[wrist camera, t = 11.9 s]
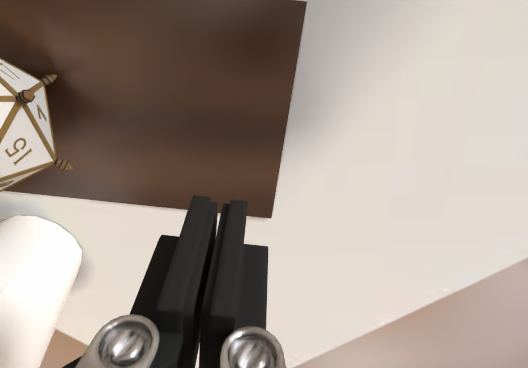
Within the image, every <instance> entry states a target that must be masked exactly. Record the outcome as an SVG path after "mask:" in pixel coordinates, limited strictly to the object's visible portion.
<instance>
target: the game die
mask: <svg viewBox="0 0 528 368" xmlns="http://www.w3.org/2000/svg"><path fill="white" fill-rule="evenodd" d="M56 77H57V75H51V74H47V75H46V76H43V78H42V79H41V80H39V79H37V78H36V77H34V76H32V75H30V74H28V73H26V72H25V71H23V70H21V69H19V68H17V67H16V66H14V65H12V64H10V63H8V62H7V61H5V60H3V59H1V58H0V192H1V191H3V190H5V189H7V188H9V187H11V186H13V185H14V184H16V183H18V182H20V181H22V180H24V179H26V178H28V177H30V176H32V175H34V174H36V173H38V172H40V171H42V170H44V169H46V168H48V167H50V166H51V165H56V166H58V168H61V169H63V171H64V170H67V169H73V167H72V166H71V165H70V164H69V161H64V159H63V160H61V159H57V157H56V151H55V145H54V139H53V132H52V126H51V120H50V114H49V108H48V102H47V96H46V90H45V85H51V84H52V83H55V79H56Z"/></svg>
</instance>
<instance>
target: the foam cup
mask: <svg viewBox="0 0 528 368" xmlns="http://www.w3.org/2000/svg"><path fill="white" fill-rule="evenodd" d="M81 263H82V250H81V248H80V246H79V245H78V243H77V242H76V240H75V238H74V237H73V236H72V235H71V234H70V233H68V232H67V231H66V230H64V229H63V228H62V227H60V226H59V225H58V224H56V223H53V222H51V221H48V220H45V219H42V218H40V217H37V216H20V215H16V216H13V217H11V218H8V219H6V220H3V221H1V222H0V368H39V367H40V364H41V362H42V359H43V357H44V354H45V352H46V350H47V347H48V345H49V342H50V340H51V337H52V335H53V332H54V330H55V328H56V325H57V323H58V320H59V318H60V315H61V313H62V310H63V308H64V306H65V303H66V301H67V298H68V296H69V293H70V291H71V288H72V286H73V284H74V281H75V279H76V276H77V274H78V271H79V266H80V265H81Z"/></svg>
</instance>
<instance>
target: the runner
mask: <svg viewBox="0 0 528 368" xmlns="http://www.w3.org/2000/svg"><path fill="white" fill-rule="evenodd" d="M306 3H307V2H303V1H296V0H0V58H1V59H3V60H5V61H7V62H8V63H10V64H12V65H14V66H16V67H17V68H19V69H21V70H23V71H25V72H26V73H28V74H30V75H32V76H34V77H36V78H37V79H39V80H41V79H42V78H43V76H46V75H47V74H51V75H57V77H56V79H55V83H52V84H51V85H45V90H46V96H47V102H48V108H49V114H50V120H51V126H52V132H53V139H54V145H55V151H56V157H57V159H61V160H63V159H64V161H69V164H70V165H71V166H72V167H73V169H67V170H64V171H63V169H61V168H58V166H56V165H51V166H50V167H48V168H46V169H44V170H42V171H40V172H38V173H36V174H34V175H32V176H30V177H28V178H26V179H24V180H22V181H20V182H18V183H16V184H14V185H13V186H11V187H9V188H7V189H5V190H3V191H12V192H21V193H31V194H41V195H50V196H60V197H70V198H79V199H89V200H99V201H108V202H118V203H127V204H137V205H147V206H156V207H166V208H176V209H185V210H188V209H189V206H190V203H191V199H192V197H193V195H199V196H208V197H212V202H218V211H217V213H221V211H222V206H223V203H227V204H230V200H231V199H234V200H242V201H248V207H247V216H253V217H263V218H271V217H272V211H273V205H274V198H275V192H276V186H277V180H278V174H279V168H280V162H281V156H282V150H283V144H284V137H285V131H286V125H287V119H288V113H289V107H290V101H291V95H292V89H293V83H294V76H295V70H296V64H297V58H298V52H299V46H300V40H301V34H302V28H303V22H304V15H305V9H306Z"/></svg>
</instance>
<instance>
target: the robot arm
mask: <svg viewBox="0 0 528 368" xmlns="http://www.w3.org/2000/svg"><path fill="white" fill-rule="evenodd" d="M247 207H248V201H242V200H234V199H231V200H230V204H227V203H223V206H222V211H221V216H220V221H219V226H218V231H217V235H216V227H217V211H218V202H212V197H208V196H199V195H193V197H192V199H191V203H190V206H189V209H188V212H187V215H186V218H185V221H184V224H183V227H182V230H181V233H180V236H179V237H177V236H168V235H161V237H160V238H159V241H158V243H157V246H156V248H155V251H154V253H153V256H152V258H151V261H150V264H149V266H148V269H147V271H146V274H145V276H144V279H143V282H142V284H141V287H140V289H139V292H138V294H137V297H136V300H135V302H134V305H133V307H132V310H131V312H130V315H125V316H120V317H118V318H116V319H113V320H111V321H110V322H108V323H107V324H106V325H104V326H103V327H102V328H101V329H100V330H99V332H98V333H97V334H96V335H95V337H94V338H93V340H92V342H91V343H90V345H89V346H88V348H87V349H86V351H85V353H84V354H83V356H81V357H79V358H77V359H76V360H74V361H73V362H71V363H69V364H67V365H66V366H64V367H63V368H195V364H196V359H197V354H198V349H199V343H200V356H199V368H286V365H285V359H284V353H283V350H282V347H281V344H280V343H279V342H278V340H277V339H276V337H275V336H274V335H272V334H271V333H270V332H269V331H267V330H266V308H267V274H268V247H267V246H258V245H249V244H244V235H245V225H246V216H247Z"/></svg>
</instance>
